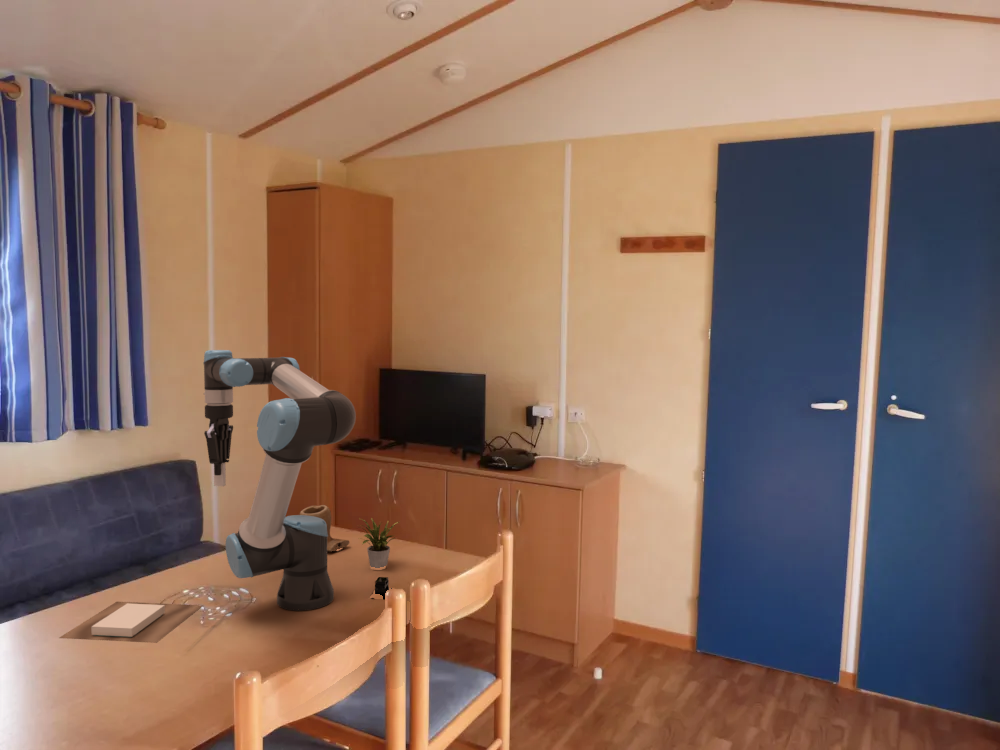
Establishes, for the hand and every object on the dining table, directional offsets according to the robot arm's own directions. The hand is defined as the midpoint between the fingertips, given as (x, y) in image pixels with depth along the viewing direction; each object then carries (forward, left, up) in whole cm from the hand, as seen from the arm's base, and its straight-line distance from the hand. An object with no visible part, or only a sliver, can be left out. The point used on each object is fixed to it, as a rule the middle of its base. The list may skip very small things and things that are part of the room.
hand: (219, 485), depth 201 cm
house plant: (-40, -20, -30) cm, 54 cm away
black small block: (-47, +1, -30) cm, 56 cm away
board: (+8, +29, -29) cm, 42 cm away
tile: (+8, +24, -27) cm, 37 cm away
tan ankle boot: (-18, -35, -30) cm, 49 cm away
